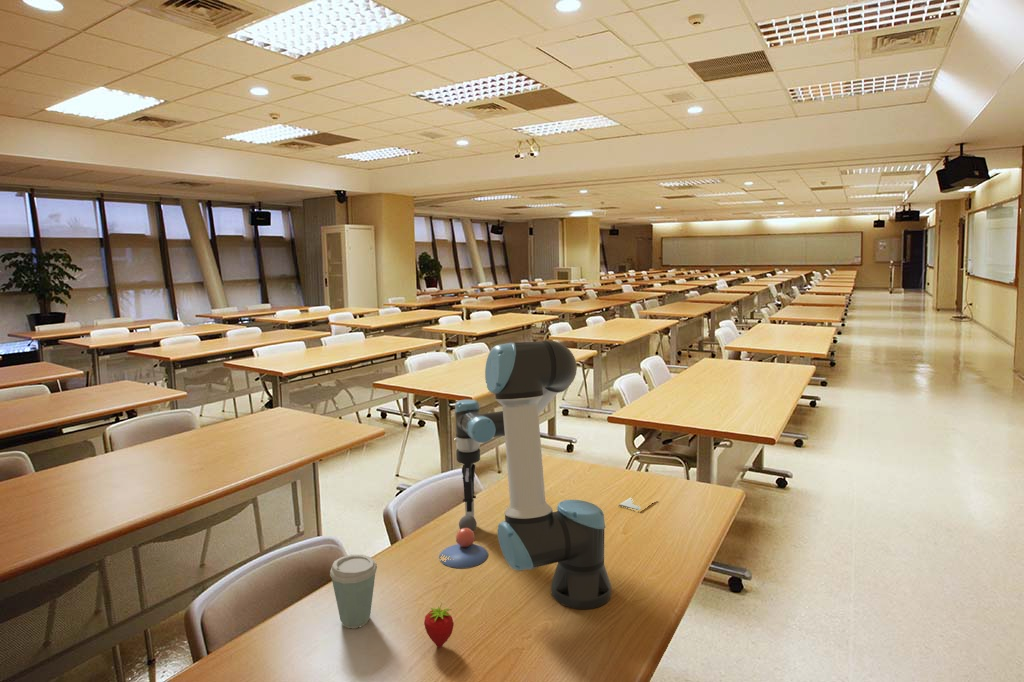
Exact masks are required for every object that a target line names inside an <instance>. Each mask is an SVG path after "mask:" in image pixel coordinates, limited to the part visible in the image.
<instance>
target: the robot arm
mask: <svg viewBox="0 0 1024 682" xmlns="http://www.w3.org/2000/svg"><path fill="white" fill-rule="evenodd" d="M577 367H578V366H577V359H576V358H575V356H574V354H573V352H572V351H571V350H570V349H569V348H568V347H567V346H566V345H565V344H563V343H561V342H559V341H555V340H540V341H539V340H537V341H536V340H535V341H524V342H523V341H521V342H519V341H518V342H507V343H500V344H497V345H494V346H493V347H492V348H491V349H490V351H489V353H488V356H487V358H486V362H485V368H484V373H485V374H484V379H485V383H486V388H487V390H488V392H489V393H491V394H494V395H495V401H496V402H497V403H499V404H500V405H501V406H502V410H498V411H493V412H483V413H481V412H480V404H479V401H478V400H476V399H471V398H470V399H469V398H468V399H461V400H458V401H456V402H455V405H454V417H455V419H454V420H455V438H454V439H453V441H454V442H455V443H456V452H455V454H456V457H455V458H456V462H457V463H460V464H463V465H462V467H461V473H462V483H463V497H464V498H463V499H462V502H463V503H464V509H465V515H464V516H466V515H470V516H472V517H474V518H475V499H477V495H475V472H476V471H475V470H476V463H478V462H479V461H480V460H481V449H480V447H481V444H484V443H488V442H490V441H491V440H492V439H493V438H498V437H499V438H500V437H504V442H505V454H506V455H505V457H506V466H507V468H506V469H507V481H508V493H509V506H508V507H507V508H506V509H505V511H504V519H505V521H501V522H499V523H498V525H497V532H496V533H497V538H498V540H497V541H498V543H499V544H498V545H499V547H500V550H501V552H502V555H503V558H504V559H505V561H506V564H508V566H509V567H510V568H511V569H512V570H514V571H524V570H533V569H536V568H538V567H544V566H547V565H552V564H556V567H555V570H554V574H553V576H552V579H551V584H550V585H551V588H550V590H551V591H550V593H551V596H552V598H553V600H555V601H556V602H557V603H559V604H560V605H563V606H565V607H567V608H571V609H576V610H577V609H579V610H591V609H596V608H599V607H601V606H604V605H605V604H606V603H608V602H609V601H610V599H611V597H612V584H611V581H610V578H609V575H608V572H607V568H606V566H605V530H606V529H605V528H606V525H605V524H606V523H605V522H606V521H605V514H604V511H603V509H601V507H599V506H598V505H596V504H593V502H589V501H585V500H582V499H581V500H580V499H564V500H562V501H560V502H558V504H557V506H556V510H557V511H553V507H552V506H551V504H549V503H547V502H546V491H545V479H544V466H543V454H542V443H541V442H542V441H541V429H540V418H539V415H541V413H542V412H543V411H544V410H545V408H546V407H547V406H548V405H549V404H550V403H551V402H552V400H553V399H554V398H555V397H556V396H557V395H558V394H559V393H560V394H561V393H563V392H564V391H566V390H568V388H569V387H570V386H571V385H572V383H573V382H574V380H575V378H576V375H577V370H578V369H577Z"/></svg>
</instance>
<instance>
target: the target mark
mask: <svg viewBox="0 0 1024 682" xmlns="http://www.w3.org/2000/svg"><path fill="white" fill-rule="evenodd" d="M442 554H443V556H444V555H445V557H446V556H447V558H448V557H449V556H450V557H449V560H448V559H447V558H446V559H447V560H446V562H444V561H445V560H444V561H442V560H441V561H440V563H441V562H442V563H443V564H442V563H441V564H442V565H444V564H445V565H444V566H446V567H448V566H449V567H450V568H453V569H470V568H474V567H476V566H478V565H481V564H483V563H484V562H485V561H486V560H487V559H488V557H489V555H488V554H489V553H488V551H487V549H486V548H485V547H483V546H481V545H479V544H476V543H473V544H472V545H471V546H469V547H461V546H460V545H459V544H458V543H457V544H453V545H450V546H448V547H446V548H444V549H443V550H442V551H441V552H440V553H439V556H438V559H441V558H440V557H441V556H442ZM443 556H442V557H443ZM445 557H444V558H445ZM450 559H451V560H450ZM453 559H454V560H453ZM449 567H448V568H449Z"/></svg>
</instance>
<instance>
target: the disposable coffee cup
mask: <svg viewBox="0 0 1024 682" xmlns="http://www.w3.org/2000/svg"><path fill="white" fill-rule="evenodd" d="M377 565H378V564H377V562H376V561H375V560H374V558H372V557H370V556H369V555H364V554H349V555H344V556H341V557H339V558H338V559H335V560H334V561H333V563H332V564H331V568H330V571H329V576H330V578H331V582H332V586H333V591H334V596H335V602H336V605H337V610H338V615H339V620H340V622H341V624H342V626H343V627H344V628H347V629H350V628H352V629H359V628H361V627H360V626H362V627H364V626H365V625H366V624H368V623H369V620H370V618H371V611H372V605H373V604H372V603H373V596H374V587H375V579H376V572H377V569H378V566H377ZM363 625H364V626H363ZM358 627H359V628H358Z"/></svg>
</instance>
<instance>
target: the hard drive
mask: <svg viewBox="0 0 1024 682" xmlns="http://www.w3.org/2000/svg"><path fill="white" fill-rule="evenodd" d="M631 499H632V498H631V497H629V498H627V499H626V500H624V501H622V502H620V503H619V504H618V507H619V506H623V507H627V508H632V509H636V510H640V509H641V507H640V506H639V505H638V506H639V507H638V506H637V505H634V504H632V503H633V502H634V501H633V499H632V500H631ZM632 501H633V502H632Z"/></svg>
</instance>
